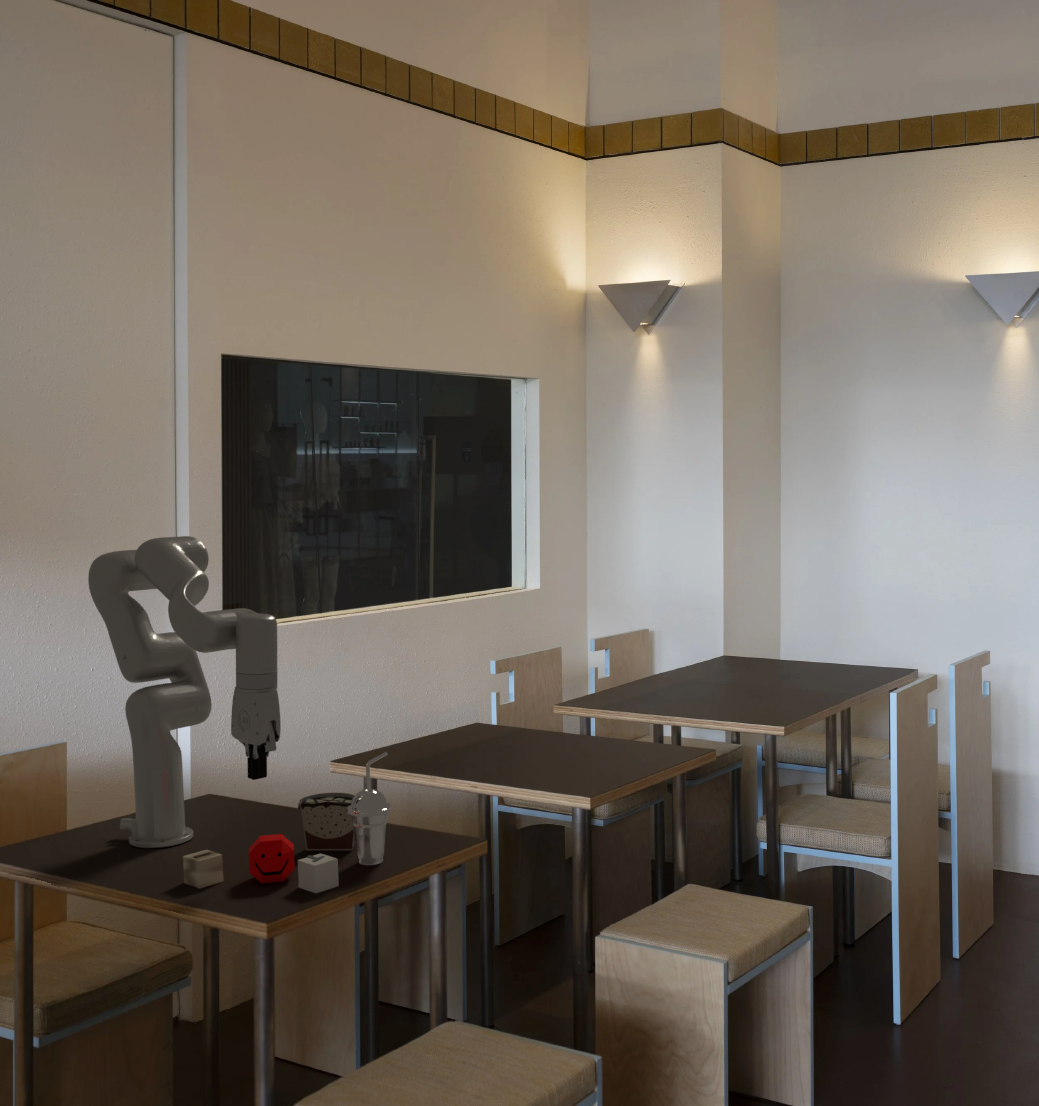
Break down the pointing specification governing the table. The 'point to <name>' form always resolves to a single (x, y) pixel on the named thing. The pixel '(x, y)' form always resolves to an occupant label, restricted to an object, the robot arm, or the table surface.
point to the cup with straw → (369, 820)
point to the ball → (271, 858)
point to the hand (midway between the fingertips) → (257, 777)
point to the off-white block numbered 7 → (318, 873)
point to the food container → (327, 821)
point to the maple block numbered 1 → (203, 868)
